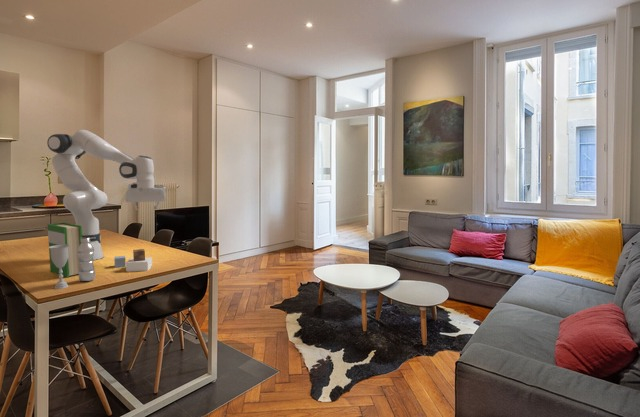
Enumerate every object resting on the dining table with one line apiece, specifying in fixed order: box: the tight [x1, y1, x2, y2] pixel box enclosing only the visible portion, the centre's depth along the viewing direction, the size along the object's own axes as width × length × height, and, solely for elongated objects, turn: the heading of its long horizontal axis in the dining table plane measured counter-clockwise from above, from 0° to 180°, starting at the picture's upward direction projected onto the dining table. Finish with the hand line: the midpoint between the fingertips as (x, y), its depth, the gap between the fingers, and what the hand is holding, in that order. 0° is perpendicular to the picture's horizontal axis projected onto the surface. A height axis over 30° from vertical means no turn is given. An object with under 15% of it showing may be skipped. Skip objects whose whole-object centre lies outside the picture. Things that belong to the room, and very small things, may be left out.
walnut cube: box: [132, 248, 146, 261], centre depth 190 cm, size 5×5×5 cm
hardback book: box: [47, 222, 82, 279], centre depth 180 cm, size 18×7×24 cm, turn 57°
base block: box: [125, 256, 153, 273], centre depth 191 cm, size 10×10×5 cm
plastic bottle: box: [77, 237, 96, 282], centre depth 168 cm, size 6×7×20 cm
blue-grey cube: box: [113, 255, 127, 269], centre depth 195 cm, size 5×5×5 cm
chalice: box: [48, 245, 69, 290], centre depth 159 cm, size 7×7×18 cm
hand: (146, 209), depth 207 cm, fingers open, 8 cm apart
